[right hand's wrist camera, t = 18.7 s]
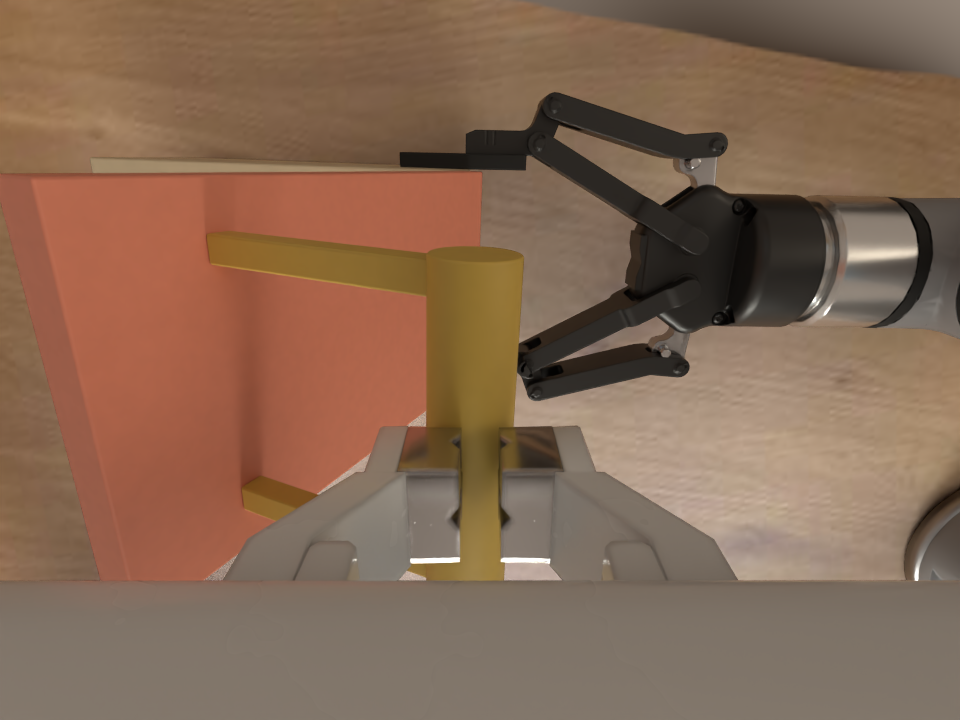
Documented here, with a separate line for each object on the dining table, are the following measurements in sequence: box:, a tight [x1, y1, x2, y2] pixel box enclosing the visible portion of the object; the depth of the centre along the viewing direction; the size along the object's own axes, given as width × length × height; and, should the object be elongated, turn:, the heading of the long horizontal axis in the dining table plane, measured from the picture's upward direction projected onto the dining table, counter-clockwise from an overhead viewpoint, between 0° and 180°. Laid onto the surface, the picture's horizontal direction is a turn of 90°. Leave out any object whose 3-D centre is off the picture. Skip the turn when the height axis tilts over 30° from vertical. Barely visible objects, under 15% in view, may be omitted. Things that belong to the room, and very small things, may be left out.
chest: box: [90, 157, 470, 173], centre depth 31 cm, size 17×10×11 cm, turn 88°
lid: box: [0, 171, 524, 581], centre depth 17 cm, size 18×10×8 cm
